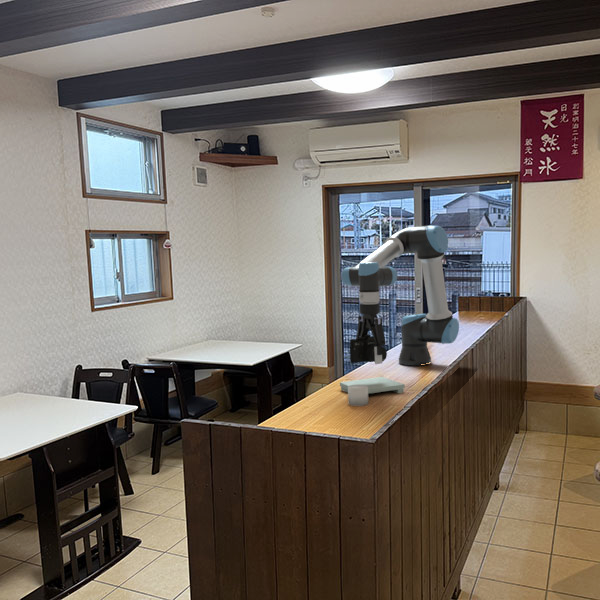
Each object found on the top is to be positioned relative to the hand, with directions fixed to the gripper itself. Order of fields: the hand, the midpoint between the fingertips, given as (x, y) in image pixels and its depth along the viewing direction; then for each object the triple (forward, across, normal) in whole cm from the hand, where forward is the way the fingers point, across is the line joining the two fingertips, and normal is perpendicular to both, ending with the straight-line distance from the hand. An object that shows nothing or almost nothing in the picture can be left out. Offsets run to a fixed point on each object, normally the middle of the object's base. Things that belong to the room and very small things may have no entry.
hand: (370, 361), depth 212 cm
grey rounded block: (+12, +13, -13) cm, 22 cm away
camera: (+1, 0, 0) cm, 1 cm away
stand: (+12, 0, 0) cm, 12 cm away
